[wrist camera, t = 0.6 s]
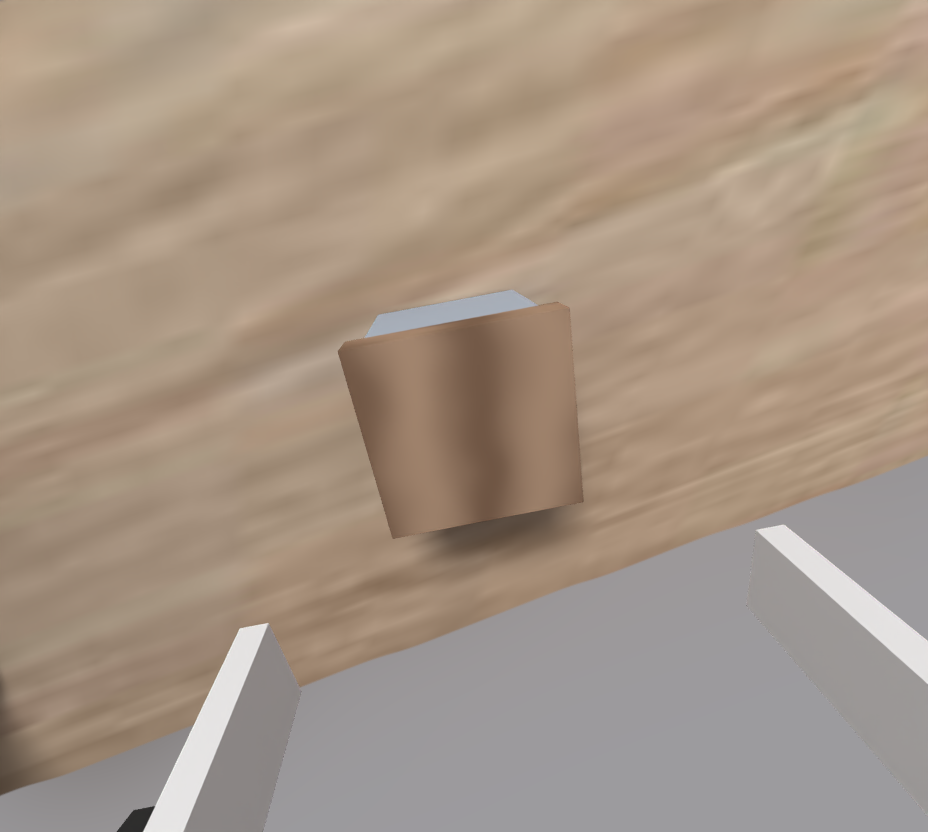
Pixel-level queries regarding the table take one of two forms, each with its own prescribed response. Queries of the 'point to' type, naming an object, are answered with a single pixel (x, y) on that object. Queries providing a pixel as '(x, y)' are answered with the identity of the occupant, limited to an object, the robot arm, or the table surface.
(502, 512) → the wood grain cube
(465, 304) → the slide box
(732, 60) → the table surface
